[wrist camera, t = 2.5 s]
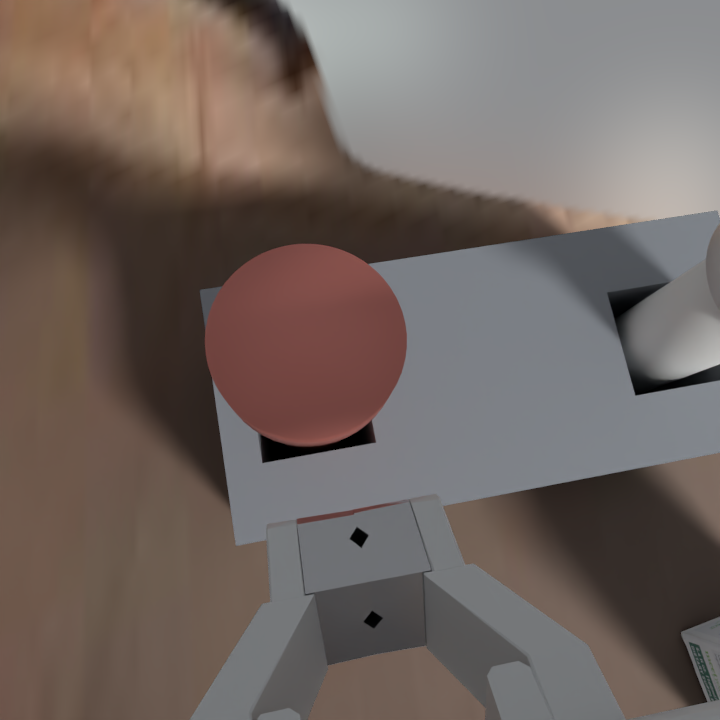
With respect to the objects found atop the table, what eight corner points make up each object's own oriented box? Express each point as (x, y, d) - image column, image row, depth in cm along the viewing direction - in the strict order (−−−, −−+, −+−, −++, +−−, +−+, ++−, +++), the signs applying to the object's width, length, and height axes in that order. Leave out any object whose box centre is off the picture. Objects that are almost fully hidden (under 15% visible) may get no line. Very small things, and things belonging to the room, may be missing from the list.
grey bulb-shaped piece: (580, 423, 32) (779, 355, 18) (553, 318, 33) (722, 180, 19) (683, 404, 32) (952, 325, 19) (653, 301, 33) (887, 156, 20)
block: (258, 536, 34) (235, 545, 25) (230, 349, 37) (199, 289, 27) (664, 458, 37) (790, 438, 27) (616, 286, 39) (717, 210, 29)
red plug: (263, 481, 30) (219, 456, 17) (246, 369, 31) (192, 259, 18) (376, 460, 31) (425, 419, 17) (356, 351, 32) (385, 230, 18)
